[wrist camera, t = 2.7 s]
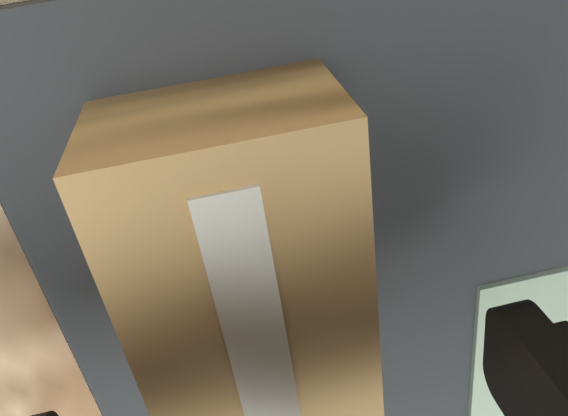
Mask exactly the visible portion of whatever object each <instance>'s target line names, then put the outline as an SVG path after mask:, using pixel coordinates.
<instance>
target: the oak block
mask: <svg viewBox="0 0 568 416" xmlns="http://www.w3.org/2000/svg"><path fill="white" fill-rule="evenodd" d="M53 181H54V183H55V186H56V188H57V190H58V193H59V195H60V198H61V200H62V203H63V205H64V208H65V210H66V212H67V215H68V217H69V220H70V222H71V225H72V227H73V229H74V232H75V234H76V237H77V239H78V242H79V244H80V247H81V249H82V251H83V254H84V256H85V259H86V261H87V264H88V266H89V269H90V271H91V273H92V276H93V278H94V281H95V283H96V286H97V288H98V290H99V293H100V295H101V298H102V300H103V303H104V305H105V308H106V310H107V312H108V315H109V317H110V320H111V322H112V325H113V327H114V330H115V332H116V334H117V337H118V339H119V342H120V344H121V347H122V349H123V351H124V354H125V356H126V359H127V361H128V364H129V366H130V369H131V371H132V373H133V376H134V378H135V381H136V383H137V386H138V388H139V391H140V393H141V395H142V398H143V400H144V403H145V405H146V408H147V410H148V412H149V415H150V416H384V402H383V384H382V366H381V348H380V331H379V313H378V295H377V277H376V259H375V242H374V224H373V206H372V188H371V170H370V153H369V135H368V117H367V116H366V115H365V113H364V112H363V111H362V110H361V108H360V107H359V106H358V105H357V104H356V102H355V101H354V100H353V99H352V98H351V96H350V95H349V94H348V93H347V92H346V90H345V89H344V88H343V87H342V86H341V84H340V83H339V82H338V81H337V80H336V78H335V77H334V76H333V75H332V74H331V72H330V71H329V70H328V69H327V68H326V66H325V65H324V64H323V63H322V62H321V60H320V59H319V58H318V59H312V60H307V61H301V62H296V63H291V64H285V65H280V66H274V67H269V68H264V69H258V70H253V71H248V72H242V73H237V74H231V75H226V76H221V77H215V78H210V79H204V80H199V81H194V82H188V83H183V84H177V85H172V86H167V87H161V88H156V89H151V90H145V91H140V92H134V93H129V94H124V95H118V96H113V97H107V98H102V99H97V100H91V101H86V102H85V103H84V105H83V108H82V110H81V112H80V115H79V117H78V120H77V122H76V124H75V127H74V129H73V131H72V134H71V136H70V138H69V141H68V143H67V146H66V148H65V150H64V153H63V155H62V157H61V160H60V162H59V164H58V167H57V169H56V172H55V174H54V176H53Z"/></svg>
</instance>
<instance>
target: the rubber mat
mask: <svg viewBox="0 0 568 416" xmlns="http://www.w3.org/2000/svg"><path fill="white" fill-rule="evenodd" d="M318 58H319V59H320V60H321V62H322V63H323V64H324V65H325V66H326V68H327V69H328V70H329V71H330V72H331V74H332V75H333V76H334V77H335V78H336V80H337V81H338V82H339V83H340V84H341V86H342V87H343V88H344V89H345V90H346V92H347V93H348V94H349V95H350V96H351V98H352V99H353V100H354V101H355V102H356V104H357V105H358V106H359V107H360V108H361V110H362V111H363V112H364V113H365V115H366V116H367V117H368V135H369V153H370V170H371V188H372V206H373V224H374V242H375V259H376V277H377V295H378V313H379V331H380V348H381V366H382V384H383V402H384V416H504V414H503V413H502V411H501V410H500V408H499V406H498V405H497V403H496V402H495V400H494V398H493V397H492V395H491V393H490V391H489V388H488V386H487V383H486V380H485V376H484V372H483V350H484V333H485V317H486V312H487V310H488V309H489V308H492V307H496V306H501V305H505V304H509V303H513V302H517V301H522V300H526V299H529V300H531V301H533V302H534V303H536V304H537V305H538V306H539V308H540V309H541V310H542V311H543V312H544V313H545V314H546V316H547V317H548V318H549V319H550V320H551V321H552V322H553V323H557V322H561V321H565V320H566V321H568V0H31V1H25V2H19V3H13V4H7V5H1V6H0V204H1V206H2V208H3V210H4V212H5V214H6V216H7V218H8V220H9V223H10V225H11V227H12V229H13V231H14V233H15V235H16V237H17V239H18V241H19V243H20V245H21V247H22V250H23V252H24V254H25V256H26V258H27V260H28V262H29V264H30V266H31V268H32V270H33V272H34V275H35V277H36V279H37V281H38V283H39V285H40V287H41V289H42V291H43V293H44V295H45V297H46V299H47V302H48V304H49V306H50V308H51V310H52V312H53V314H54V316H55V318H56V320H57V322H58V324H59V326H60V329H61V331H62V333H63V335H64V337H65V339H66V341H67V343H68V345H69V347H70V349H71V351H72V353H73V356H74V358H75V360H76V362H77V364H78V366H79V368H80V370H81V372H82V374H83V376H84V378H85V380H86V383H87V385H88V387H89V389H90V391H91V393H92V395H93V397H94V399H95V401H96V403H97V405H98V408H99V410H100V412H101V414H102V416H150V415H149V412H148V410H147V408H146V405H145V403H144V400H143V398H142V395H141V393H140V391H139V388H138V386H137V383H136V381H135V378H134V376H133V373H132V371H131V369H130V366H129V364H128V361H127V359H126V356H125V354H124V351H123V349H122V347H121V344H120V342H119V339H118V337H117V334H116V332H115V330H114V327H113V325H112V322H111V320H110V317H109V315H108V312H107V310H106V308H105V305H104V303H103V300H102V298H101V295H100V293H99V290H98V288H97V286H96V283H95V281H94V278H93V276H92V273H91V271H90V269H89V266H88V264H87V261H86V259H85V256H84V254H83V251H82V249H81V247H80V244H79V242H78V239H77V237H76V234H75V232H74V229H73V227H72V225H71V222H70V220H69V217H68V215H67V212H66V210H65V208H64V205H63V203H62V200H61V198H60V195H59V193H58V190H57V188H56V186H55V183H54V181H53V176H54V174H55V172H56V169H57V167H58V164H59V162H60V160H61V157H62V155H63V153H64V150H65V148H66V146H67V143H68V141H69V138H70V136H71V134H72V131H73V129H74V127H75V124H76V122H77V120H78V117H79V115H80V112H81V110H82V108H83V105H84V103H85V102H86V101H91V100H97V99H102V98H107V97H113V96H118V95H124V94H129V93H134V92H140V91H145V90H151V89H156V88H161V87H167V86H172V85H177V84H183V83H188V82H194V81H199V80H204V79H210V78H215V77H221V76H226V75H231V74H237V73H242V72H248V71H253V70H258V69H264V68H269V67H274V66H280V65H285V64H291V63H296V62H301V61H307V60H312V59H318Z"/></svg>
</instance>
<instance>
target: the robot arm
mask: <svg viewBox="0 0 568 416" xmlns="http://www.w3.org/2000/svg"><path fill="white" fill-rule="evenodd" d="M483 372H484V376H485V380H486V383H487V386H488V388H489V391H490V393H491V395H492V397H493V398H494V400H495V402H496V403H497V405H498V406H499V408H500V410H501V411H502V413H503V414H504V416H568V321H566V320H565V321H561V322H557V323H553V322H552V321H551V320H550V319H549V318H548V317H547V316H546V314H545V313H544V312H543V311H542V310H541V309H540V308H539V306H538V305H537V304H536V303H534V302H533V301H531V300H529V299H526V300H522V301H517V302H513V303H509V304H505V305H501V306H496V307H492V308H489V309H488V310H487V312H486V317H485V333H484V350H483ZM31 416H58V414H57V413H56V412H54V411H48V412H44V413H40V414H36V415H31Z"/></svg>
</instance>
